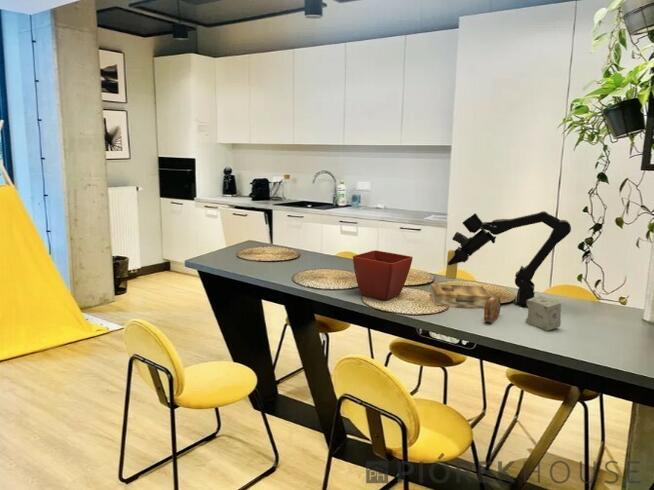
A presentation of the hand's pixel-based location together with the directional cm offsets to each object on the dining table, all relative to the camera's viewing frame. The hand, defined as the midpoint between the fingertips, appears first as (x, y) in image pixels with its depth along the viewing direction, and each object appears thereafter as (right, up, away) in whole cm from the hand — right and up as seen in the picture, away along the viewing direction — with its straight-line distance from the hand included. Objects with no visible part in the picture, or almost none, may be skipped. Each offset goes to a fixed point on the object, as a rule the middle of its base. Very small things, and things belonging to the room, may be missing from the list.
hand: (449, 263), depth 226 cm
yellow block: (+1, -6, +1) cm, 7 cm away
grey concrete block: (+26, -22, -35) cm, 49 cm away
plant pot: (-30, -13, -4) cm, 34 cm away
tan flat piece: (+2, -16, -9) cm, 18 cm away
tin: (+9, -20, -29) cm, 37 cm away
